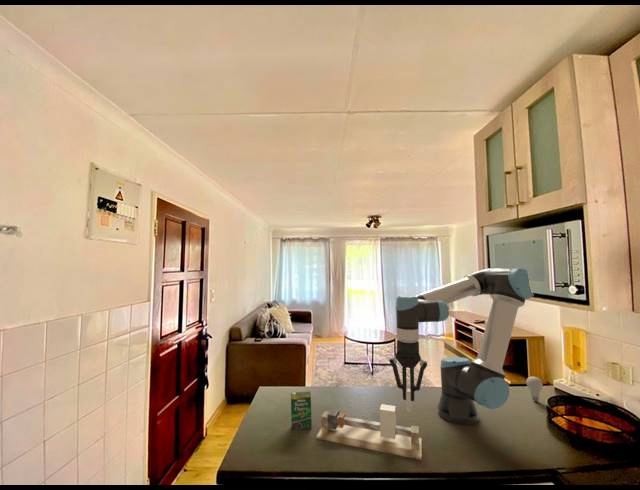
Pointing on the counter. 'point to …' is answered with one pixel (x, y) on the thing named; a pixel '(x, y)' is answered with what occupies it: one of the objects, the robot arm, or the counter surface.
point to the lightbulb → (534, 387)
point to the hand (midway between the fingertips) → (408, 409)
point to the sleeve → (387, 421)
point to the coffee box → (301, 410)
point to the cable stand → (369, 435)
